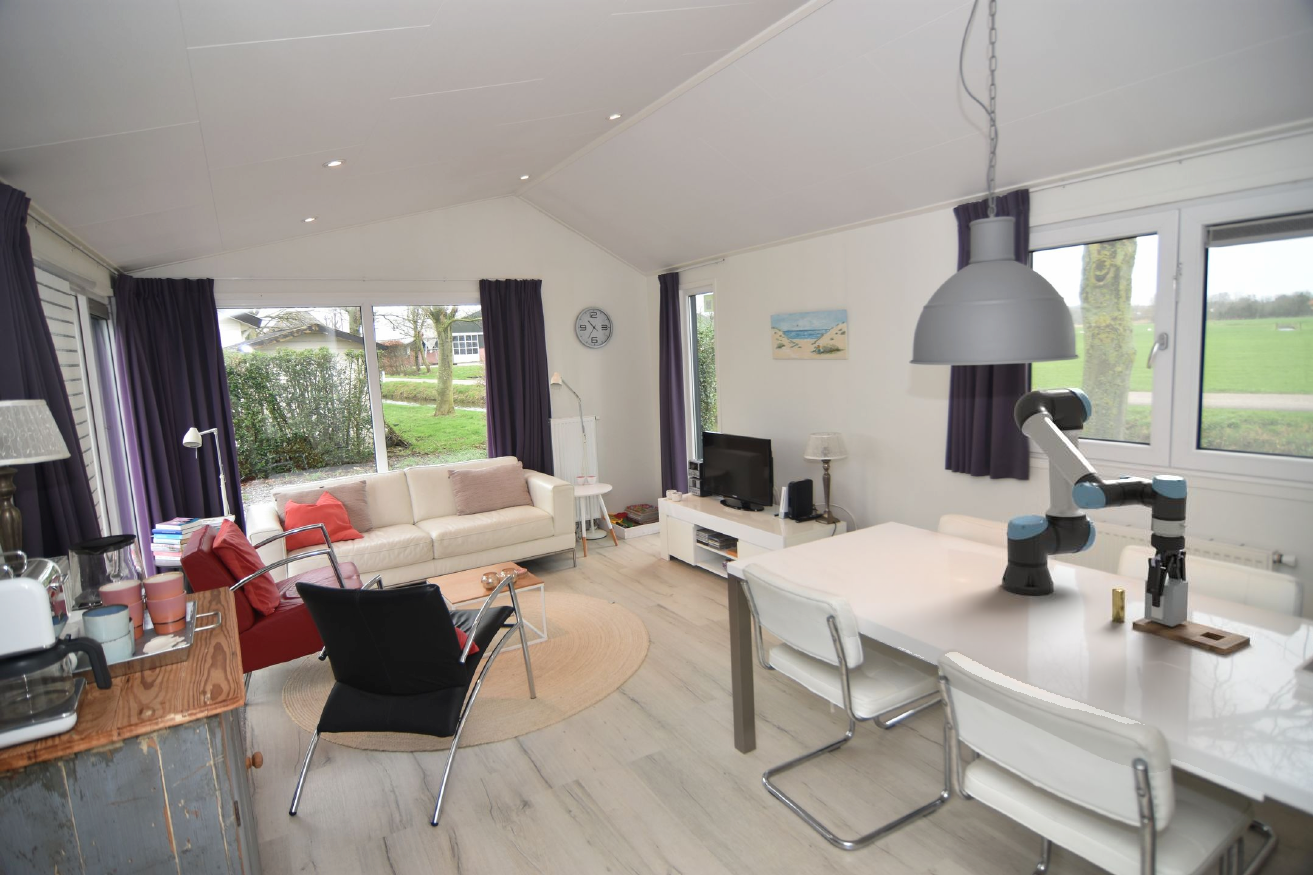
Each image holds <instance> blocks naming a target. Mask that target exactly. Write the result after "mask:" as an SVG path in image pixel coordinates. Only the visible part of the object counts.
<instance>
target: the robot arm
mask: <svg viewBox="0 0 1313 875" xmlns="http://www.w3.org/2000/svg"><path fill="white" fill-rule="evenodd" d="M1092 411H1093V408H1092V402H1091V400H1090V398H1089V397H1088V395H1087V394H1086V393H1085V392H1084V391H1083V390H1081V389H1079V388H1077V387H1076V388H1074V387H1069V388H1068V387H1062V388H1053V389H1042V390H1040V389H1039V390H1038V389H1037V390H1032V391H1029V392H1026V393H1025V394H1023V395H1022V396H1021V397H1020V398H1019V399H1018V401H1017V402H1016V403H1015V406H1014V411H1013V416H1014V421H1015V423H1016V426H1017V427H1018V429H1019V430H1020V431H1021V432H1022V434H1023V435H1024V436H1026V437H1031V439H1032V440H1033V442H1035V444H1036V445H1037V446H1038V447H1039V449H1040V450H1041V451H1042V452H1043V453H1044V455H1046V457H1047V458H1048V479H1049V480H1048V482H1049V502H1050V504H1049V508H1048V509H1047V510H1046V511H1045V512H1044V513H1045V515H1044V516H1042V515H1037V514H1036V515H1035V514H1033V515H1032V514H1031V515H1029V514H1028V515H1020V516H1017V517H1014V518H1012V519H1010V520H1009V521H1008V523H1007V527H1006V528H1007V529H1006V537H1007V539H1006V540H1007V541H1006V542H1007V547H1006V548H1007V564H1006V567H1005V570H1004V572H1003V576H1002V578H1001V587H1002V588H1003V589H1004V590H1005V591H1007V592H1011V593H1014V594H1018V595H1025V596H1044V595H1049V594H1051V593H1053V592H1054V590H1055V583H1054V581H1053V578H1052V575H1051V573H1050V570H1049V567H1048V560H1049V559H1048V556H1056V555H1057V556H1058V555H1066V554H1079V553H1081V552H1086V551H1088V550H1089V549H1090V548H1092V546H1093V544H1094V542H1095V540H1096V527H1095V525H1093V523H1094V522H1093V521H1092V519H1090V518H1089V517H1088V516H1087V513H1086V511H1085V510H1099V509H1107V508H1116V507H1117V508H1119V507H1128V506H1129V507H1130V506H1142V507H1146V508H1150V509H1151V519H1150V520H1151V521H1150V531H1151V533H1150V545H1151V547H1152V548H1154V549H1155V553H1154V557H1148V558H1147V562H1148V569H1147V570H1148V571H1147V572H1148V573H1147V579H1148V580H1147V579H1146V580H1147V590H1146V592H1147V593H1149V594H1152V611H1151V616H1152V617H1155V618H1159V619H1164V596H1163V595H1162V593H1163V589H1164V585H1165V581H1166V577H1169V578H1173V579H1177V580H1183V581H1187V574H1186V557H1187V551H1186V550H1185V548H1186V536H1185V534H1186V528H1187V525H1188V524H1186V521H1187V520H1186V519H1187V516H1186V515H1187V500H1188V498H1187V497H1188V490H1187V488H1188V487H1187V481H1186V479H1185V478H1183V477H1180V476H1175V475H1157V476H1154V477H1153V478H1152V480H1151V479H1147V478H1143V477H1141V476H1138V475H1137V476H1136V475H1122V476H1120V477H1119V478H1118V479H1113V480H1112V479H1111V480H1106V479H1104V478H1103V477H1102V476H1101V475H1100V474H1099V473H1098V472H1097V470H1096V469H1095V468H1094V467H1093V466H1092V465H1091V464H1090V463H1089V462H1088V460H1087V459H1086V458H1085V457H1084V456H1083V455H1082V453H1081V452H1080V450H1079V434H1081V432H1082V431H1084V423H1086V422H1088V421H1089V420H1090V418H1091V416H1092ZM1167 575H1168V576H1167Z"/></svg>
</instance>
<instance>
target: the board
mask: <svg viewBox="0 0 1313 875" xmlns="http://www.w3.org/2000/svg"><path fill="white" fill-rule="evenodd" d="M1132 628H1133V629H1136V630H1140V631H1144V632H1146V633H1148V634H1149V633H1150V634H1153V635H1157V636H1160V637H1163V638H1166V639H1170V640H1172V641H1177V642H1179V643H1183V644H1187V645H1190V646H1193V647H1197V648H1200V649H1203V650H1206V651H1209V652H1212V653H1216V654H1220V655H1223V656H1226V655H1228V654H1231V653H1233V652H1235V651H1237V650H1239V649H1241V648H1244V647H1245V646H1248V645H1250V644H1251V637H1248V636H1244V635H1241V634H1238V633H1234V632H1231V631H1226V630H1223V629H1219V628H1215V627H1213V626H1209V625H1205V624H1200V623H1197V622H1194V621H1190V620H1187V621H1185V622H1182V623H1180V624H1177V625H1175V626H1169V625H1164V624H1161V623H1158V622H1155V621H1152V620H1148V619H1145V618H1144V617H1142V618H1139V619H1137V620H1134V621H1132Z"/></svg>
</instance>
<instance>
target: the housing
mask: <svg viewBox="0 0 1313 875" xmlns="http://www.w3.org/2000/svg"><path fill="white" fill-rule="evenodd" d="M1147 580H1148V578H1147V579H1146V580H1145V582H1144V584H1145V585H1144V617H1143V618H1145V619H1148V620H1152V621H1155V622H1158V623H1162V624H1165V625H1169V626H1175V625H1177V624H1180V623H1182V622H1185V621H1188V603H1189V602H1188V598H1189V596H1188V594H1189V581H1187V580H1186V581H1183V580H1182V579H1181V580H1177V579H1173V578H1169V577H1168V576H1166V581H1165V585H1164V589H1163V593H1162V595H1163V596H1164V619H1159V618H1155V617H1152V616H1151V611H1152V594H1149V593H1147V592H1146V590H1147Z"/></svg>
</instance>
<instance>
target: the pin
mask: <svg viewBox="0 0 1313 875" xmlns="http://www.w3.org/2000/svg"><path fill="white" fill-rule="evenodd" d="M1111 594H1112V596H1111V598H1112V599H1111V611H1112V612H1111V618H1112V622H1116V623H1125V621H1126V616H1125V615H1126V611H1125V610H1126V609H1125V608H1126V606H1125V605H1126V604H1125V603H1126V590H1125V589H1123V588H1118V587H1117V588H1116V587H1114V588H1112V592H1111Z"/></svg>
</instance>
